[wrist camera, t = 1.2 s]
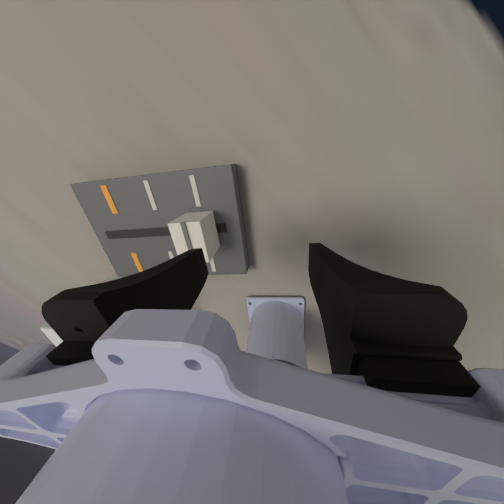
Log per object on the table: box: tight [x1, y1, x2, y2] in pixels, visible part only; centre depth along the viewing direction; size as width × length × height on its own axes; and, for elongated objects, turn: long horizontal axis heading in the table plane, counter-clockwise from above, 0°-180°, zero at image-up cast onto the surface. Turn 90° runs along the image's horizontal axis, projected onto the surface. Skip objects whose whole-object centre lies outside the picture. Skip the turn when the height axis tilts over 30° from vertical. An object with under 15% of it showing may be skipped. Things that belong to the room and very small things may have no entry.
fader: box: [168, 211, 220, 262], centre depth 18 cm, size 4×3×4 cm
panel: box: [70, 164, 249, 276], centre depth 22 cm, size 12×18×2 cm, turn 96°
